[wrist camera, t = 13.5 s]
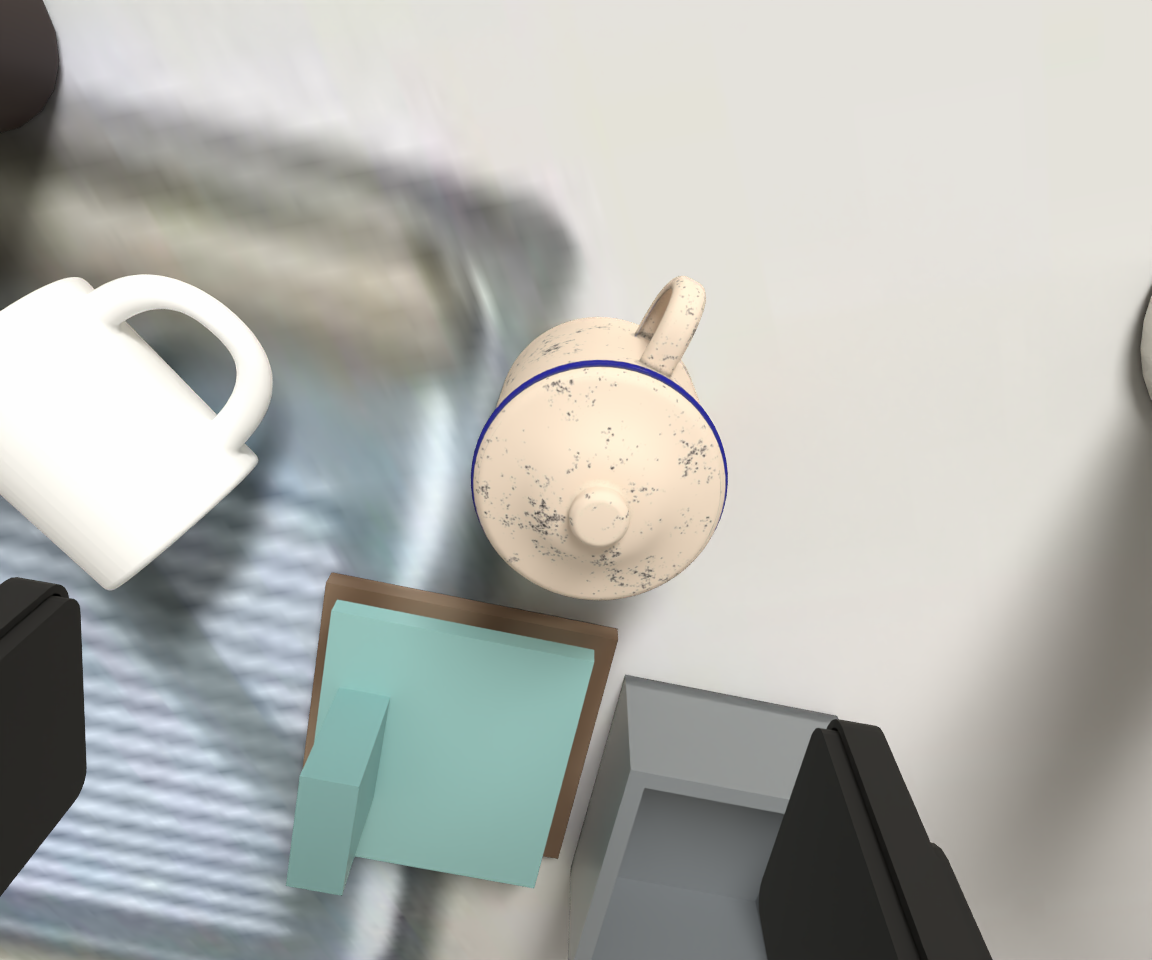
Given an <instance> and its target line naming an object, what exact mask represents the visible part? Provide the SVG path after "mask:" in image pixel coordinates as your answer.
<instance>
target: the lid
mask: <svg viewBox="0 0 1152 960" xmlns="http://www.w3.org/2000/svg"><path fill="white" fill-rule="evenodd" d="M593 665H594V650H592V649H587V648H582V647H577V646H572V645H567V644H562V643H557V642H551V641H546V640H541V639H536V638H531V637H526V636H521V635H516V634H511V633H506V632H501V631H495V630H490V629H485V628H480V627H475V626H470V625H465V624H460V623H455V622H450V621H444V620H439V619H434V618H429V617H424V616H419V615H414V614H409V613H404V612H399V611H393V610H388V609H383V608H378V607H373V606H368V605H363V604H358V603H353V602H348V601H342V600H337V601H336V603H335V605H334V607H333V609H332V610H331V617H330V625H329V633H328V640H327V648H326V656H325V663H324V671H323V679H322V686H321V694H320V702H319V709H318V717H317V725H316V732H315V740H314V745H313V747H312V750H311V752H310V754H309V756H308V759H307V761H306V763H305V765H304V768H303V770H302V772H301V774H300V778H299V786H298V794H297V802H296V810H295V818H294V826H293V834H292V842H291V850H290V858H289V866H288V874H287V882H286V886H289V887H295V888H301V889H306V890H312V891H318V892H324V893H329V894H335V895H341V896H342V894H343V891H344V888H345V885H346V882H347V879H348V876H349V872H350V869H351V866H352V863H353V860H354V857H361V858H367V859H372V860H378V861H384V862H389V863H395V864H400V865H406V866H412V867H417V868H423V869H428V870H434V871H440V872H445V873H451V874H456V875H462V876H468V877H473V878H479V879H485V880H490V881H496V882H501V883H507V884H513V885H518V886H524V887H529V888H534V887H535V883H536V879H537V876H538V872H539V868H540V864H541V861H542V857H543V853H544V849H545V846H546V842H547V838H548V834H549V830H550V827H551V823H552V819H553V815H554V812H555V808H556V804H557V800H558V797H559V793H560V789H561V785H562V782H563V778H564V774H565V770H566V767H567V763H568V759H569V755H570V751H571V748H572V744H573V740H574V736H575V733H576V729H577V725H578V721H579V718H580V714H581V710H582V706H583V703H584V699H585V695H586V691H587V687H588V684H589V680H590V676H591V672H592V669H593Z"/></svg>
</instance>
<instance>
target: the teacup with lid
mask: <svg viewBox="0 0 1152 960" xmlns="http://www.w3.org/2000/svg"><path fill="white" fill-rule="evenodd" d="M705 302H706V293H705V290H704V288H703V286H702V285H701V284H700V283H698V282H696V281H694V280H692V279H691V278H688V277H686V276H678V277H676V278H674V279H672V280H671V281H670V282H669V283H668V284H667V285H666V286H665V287H664V288H663V289H662V290H661V291H660V293H659V294H658V295H657V297H656V298H655V300H654V301H653V303H652V304H651V306H650V308H649V309H648V311H647V313H646V314H645V316H644V318H643V320H642V321H641V323H640V325H637V324H634V323H631V322H628V321H625V320H621V319H616V318H608V317H590V318H582V319H576V320H572V321H569V322H566V323H563V324H560V325H558V326H556V327H554V328H552V329H550V330H548V331H546V332H545V333H543V334H541V335H540V336H539V337H537V338H536V339H535V340H533V341H532V342H531V343H530V344H529V345H528V346H527V347H526V348H525V349H524V350H523V351H522V353H521V354H520V355H519V356H518V358H517V359H516V360H515V362H514V363H513V365H512V367H511V369H510V370H509V372H508V375H507V377H506V379H505V382H504V385H503V388H502V391H501V394H500V397H499V400H498V403H497V406H496V409H495V410H494V412H493V413H492V415H491V416H490V418H489V419H488V421H487V423H486V424H485V426H484V428H483V430H482V432H481V434H480V437H479V439H478V442H477V445H476V448H475V451H474V456H473V461H472V469H471V490H472V498H473V503H474V507H475V511H476V514H477V517H478V520H479V522H480V524H481V526H482V529H483V531H484V533H485V534H486V536H487V538H488V539H489V541H490V543H491V544H492V546H493V547H494V548H495V550H496V551H497V553H498V554H499V555H500V556H501V557H502V558H503V559H504V561H505V562H506V563H507V564H508V565H509V566H511V567H512V568H513V569H514V570H515V571H516V572H518V573H519V574H520V575H522V576H523V577H524V578H526V579H528V580H529V581H531V582H532V583H534V584H536V585H538V586H540V587H542V588H544V589H546V590H549V591H551V592H554V593H557V594H560V595H564V596H567V597H572V598H577V599H585V600H614V599H621V598H626V597H631V596H635V595H638V594H641V593H644V592H647V591H649V590H652V589H654V588H657V587H658V586H660V585H662V584H664V583H666V582H668V581H669V580H671V579H672V578H674V577H675V576H677V575H678V574H679V573H681V572H682V571H683V570H684V569H686V568H687V567H688V566H689V565H690V564H691V563H692V562H693V561H694V560H695V559H696V558H697V557H698V555H699V554H700V553H701V552H702V551H703V549H704V548H705V546H706V545H707V543H708V542H709V540H710V539H711V537H712V535H713V533H714V531H715V530H716V528H717V525H718V523H719V521H720V518H721V515H722V512H723V509H724V505H725V501H726V496H727V486H728V472H727V463H726V457H725V453H724V448H723V446H722V443H721V440H720V437H719V435H718V433H717V430H716V428H715V426H714V424H713V423H712V421H711V419H710V418H709V416H708V415H707V413H706V412H705V411H704V409H703V408H702V407H701V405H700V402H699V399H698V397H697V394H696V391H695V388H694V386H693V383H692V380H691V377H690V375H689V373H688V371H687V369H686V367H685V365H684V364H683V362H682V360H681V358H682V356H683V354H684V352H685V351H686V349H687V347H688V345H689V343H690V341H691V339H692V337H693V335H694V333H695V331H696V329H697V326H698V324H699V322H700V319H701V316H702V313H703V310H704V307H705Z"/></svg>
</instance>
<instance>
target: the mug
mask: <svg viewBox="0 0 1152 960" xmlns="http://www.w3.org/2000/svg"><path fill="white" fill-rule="evenodd" d="M152 309H171V310H175V311H179V312H182V313H184V314H186V315H188V316H190V317H192V318H194V319H195V320H197V321H198V322H200V323H201V324H203V325H204V326H205V327H206V328H208V329H209V330H210V331H211V332H212V333H213V334H214V335H216V336H217V337H218V338H219V339H220V340H221V341H222V342H223V344H224V345H225V346H226V347H227V349H228V350H229V351H230V353H231V355H232V357H233V359H234V361H235V365H236V370H237V377H236V384H235V387H234V390H233V392H232V395H231V397H230V398H229V400H228V402H227V403H226V405H225V406H224V407H223V409H222V410H221V411H220V413H219V414H218V415H217V414H216V413H215V412H214V411H213V410H212V409H211V408H210V407H209V406H208V405H207V404H206V403H205V402H204V401H203V400H202V399H201V398H200V397H199V396H198V395H197V394H196V393H195V392H194V391H193V390H192V389H191V388H190V387H189V386H188V385H187V384H186V383H185V382H184V381H183V380H182V378H181V377H180V376H179V375H178V374H177V373H176V372H175V371H174V370H173V369H172V368H171V367H170V366H169V365H168V364H167V363H166V362H165V361H164V360H163V359H162V358H161V357H160V356H159V355H158V354H157V353H156V352H155V351H154V350H153V349H152V348H151V347H150V346H149V345H148V344H147V343H146V342H145V341H144V340H143V339H142V338H141V336H140V335H139V334H138V333H137V332H136V331H135V330H134V329H133V328H132V327H131V326H130V325H129V324H128V323H127V322H126V321H125V320H126V319H128V318H130V317H132V316H134V315H136V314H139V313H141V312H144V311H148V310H152ZM272 389H273V379H272V371H271V367H270V364H269V361H268V358H267V356H266V353H265V351H264V349H263V348H262V346H261V344H260V343H259V341H258V340H257V338H256V337H255V335H254V334H253V333H252V332H251V330H250V329H249V328H248V327H247V326H246V325H245V324H244V323H243V321H241V320H240V319H239V318H238V317H237V316H236V315H235V314H234V313H233V312H232V311H231V310H229V309H228V308H227V307H226V306H224V305H223V304H222V303H221V302H219V301H218V300H216V299H215V298H213V297H212V296H210V295H209V294H207V293H205V292H204V291H202V290H200V289H198V288H196V287H194V286H192V285H190V284H187V283H185V282H182V281H179V280H176V279H173V278H169V277H164V276H158V275H132V276H126V277H122V278H119V279H116V280H113V281H111V282H108V283H106V284H104V285H102V286H100V287H98V288H97V289H94V288H93V287H92V286H91V285H90V284H89V283H88V282H87V281H85V280H84V279H82V278H79V277H70V278H65V279H61V280H58V281H55V282H53V283H50V284H48V285H46V286H44V287H42V288H40V289H38V290H36V291H34V292H32V293H30V294H28V295H26V296H24V297H23V298H21V299H19V300H17V301H16V302H14V303H13V304H11V305H9V306H8V307H6V308H5V309H3V310H1V311H0V495H1V496H3V497H4V498H5V499H6V500H7V501H8V502H9V503H10V504H11V505H13V506H14V507H15V508H16V509H17V510H18V511H19V512H20V513H21V514H22V515H24V516H25V517H26V518H27V519H28V520H29V521H30V522H31V523H32V524H34V525H35V526H36V527H37V528H38V529H39V530H40V531H41V532H42V533H43V534H45V535H46V536H47V537H48V538H49V539H50V540H51V541H52V542H53V543H55V544H56V545H57V546H58V547H59V548H60V549H61V550H62V551H63V552H64V553H66V554H67V555H68V556H69V557H70V558H71V559H72V560H73V561H74V562H76V563H77V564H78V565H79V566H80V567H81V568H82V569H83V570H84V571H86V572H87V573H88V574H89V575H90V576H91V577H92V578H93V579H94V580H95V581H97V582H98V583H99V584H100V585H101V586H102V587H103V588H104V589H106V590H114V589H116V588H118V587H119V586H121V585H122V584H124V583H125V582H126V581H128V580H129V579H130V578H132V577H133V576H134V575H136V574H137V573H138V572H139V571H141V570H142V569H143V568H144V567H146V566H147V565H148V564H149V563H151V562H152V561H153V560H154V559H155V558H157V557H158V556H159V555H160V554H161V553H162V552H164V551H165V550H166V549H167V548H168V547H170V546H171V545H172V544H173V543H174V542H175V541H177V540H178V539H179V538H180V537H181V536H182V535H183V534H185V533H186V532H187V531H188V530H189V529H190V528H191V527H193V526H194V525H195V524H196V523H197V522H198V521H199V520H200V519H202V518H203V517H204V516H205V515H206V514H207V513H208V512H209V511H210V510H212V509H213V508H214V507H215V506H216V505H217V504H218V503H219V502H220V501H221V500H222V499H224V498H225V497H226V496H227V495H228V494H229V493H230V492H231V491H232V490H233V489H234V488H235V487H236V486H237V485H238V484H239V483H240V482H241V481H242V480H243V479H244V478H245V477H246V476H247V475H248V474H249V473H250V472H251V471H252V470H253V469H254V468H255V466H256V465H257V463H258V457H257V455H256V454H255V453H254V452H253V451H252V450H251V449H250V448H249V447H248V446H247V445H246V444H245V442H246V441H247V440H248V439H249V437H250V436H251V435H252V434H253V433H254V431H255V430H256V429H257V427H258V426H259V424H260V423H261V421H262V419H263V418H264V416H265V414H266V412H267V409H268V407H269V404H270V401H271V396H272Z"/></svg>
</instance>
